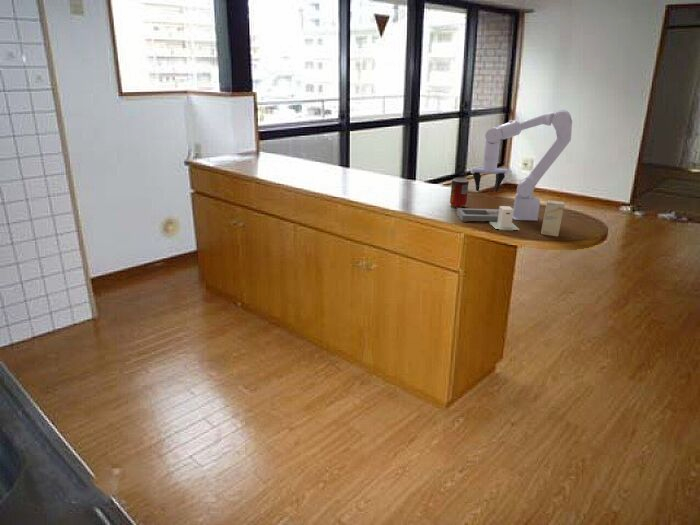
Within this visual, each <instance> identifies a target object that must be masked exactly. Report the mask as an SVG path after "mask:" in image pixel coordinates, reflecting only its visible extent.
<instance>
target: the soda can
mask: <svg viewBox="0 0 700 525" xmlns="http://www.w3.org/2000/svg"><path fill="white" fill-rule="evenodd" d="M469 183H470V181H469V179H467V178H466V177H465V178H464V177H455V178H453V179H452V181H451V189H450V196H449V199H450V200H449V203H450V205H451V207H452V208H454V207H456V209H457V208H462V207H464V208H465V206H466V205H467V201H468V193H469V192H468V191H469Z"/></svg>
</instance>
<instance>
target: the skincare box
mask: <svg viewBox="0 0 700 525" xmlns="http://www.w3.org/2000/svg"><path fill="white" fill-rule="evenodd" d="M565 205H566V202H565V201H557V200H550V199H549V200H548V199H547V200H546V204H545V209H544V214H543V221H542V225H541V231H540V233H541V235H545V236H552V237H559V234H560V229H561V225H562V224H561V223H562V220H563V219H562V218H563V216H564V210H565Z"/></svg>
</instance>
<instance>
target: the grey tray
mask: <svg viewBox="0 0 700 525" xmlns="http://www.w3.org/2000/svg"><path fill="white" fill-rule="evenodd" d="M498 214H499V208H498V209H496V208H491V209H490V208H465V207H464V208H456V215H457V217H458V216H459V217H460V218H459V217H458V218H459V220H460V221H461V220H462V221H461V222H467V221H490V222H497V221H498Z"/></svg>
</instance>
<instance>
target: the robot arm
mask: <svg viewBox="0 0 700 525" xmlns="http://www.w3.org/2000/svg"><path fill="white" fill-rule="evenodd" d="M541 125H545V126H550V127H551V125H552V126H553V129H554V130H555V134H556V139H555V141H554V142H553V143H552V144H551V146H550V147H549V148H548V150H547V151H546V152H545V154H543V156H542V158H541V159H540V160H539V161H538V163H537V164H536V165H535V166H534V168H533V169H532V170H531V171H530V172H529V174H528V175H527V176H526V177H525V178H523V179H522V180H520V182H519V183H518V185H517V187H516V194H515V196H514V204H513V209H514V212H513V219H512V220H515V221H538V220H539V219H538V218H539V212H540V207H541V206H540V202H541V201H540V198H539V196H538V197H537V196H535V195H534V191H535V188H536V186H537V185H538V183H539V182H540V180H541V179H542V178H543V177H544V175H545V174H546V173H547V172H548V170H549V169H550V167H551V166H552V165H553V164H554V163H555V162H556V160H557V159H558V157H559V156H561V154H562V153H563V151H564V149H565V148H567V146H568V145H569V143H570V142H571V140H572V131H573V130H572V127H573V119H572V116H571V114H570V112H569V111H568V110H565V109H561V110H557V111H549V112H546V113H542V114H540V115H537V116H534V117H531V118H528V119H526V120H522V121H518V120H513V119H510V120H508V122H506V123H503V124H496V126H494V127H493V126H492V127H490V128H489V129H488V130H486V132H485V142H484V144H485V145H484V151H483V160H482V165H481V166H482V167H471V168H470V174H472V177H473V179H474V183H475V191H476V192H480V184H481V183H480V182H481V179H482V175H481V174H490V175H492V174H493V175H495V183H494V189H493V190H494V192H496V193H498V190H499V188H500V185H501V184H502V182H503V180H504V179H505V176H506V175H508V170H509V169H507V168H499V167H498V163H499V162H498V161H499V153H500V142H501V140H507V139H509V138H512V137H513V138H514V137H515V136H519V135H520V134H521V133H522V131H524V130H526V129H530V128H535V127H538V126H541Z"/></svg>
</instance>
